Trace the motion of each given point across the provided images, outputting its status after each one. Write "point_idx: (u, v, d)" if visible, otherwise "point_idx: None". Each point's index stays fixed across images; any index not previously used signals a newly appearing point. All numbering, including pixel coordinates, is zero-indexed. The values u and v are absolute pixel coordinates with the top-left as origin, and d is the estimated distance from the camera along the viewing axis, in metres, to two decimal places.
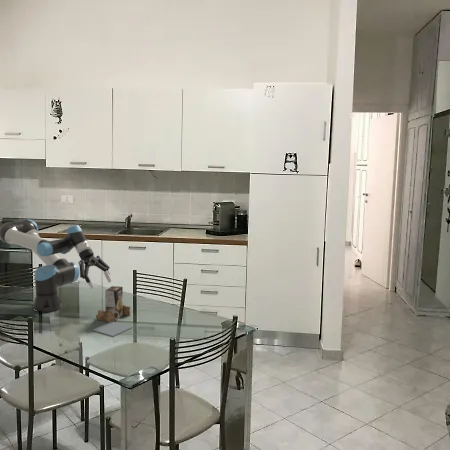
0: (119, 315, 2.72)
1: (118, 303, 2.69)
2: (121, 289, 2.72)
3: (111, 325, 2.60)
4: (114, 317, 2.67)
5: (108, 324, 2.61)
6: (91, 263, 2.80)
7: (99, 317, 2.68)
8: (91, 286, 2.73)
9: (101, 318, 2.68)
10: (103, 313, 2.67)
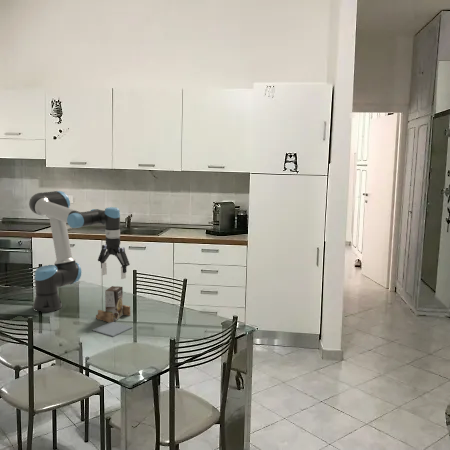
0: (119, 315, 2.72)
1: (118, 303, 2.69)
2: (121, 289, 2.72)
3: (111, 325, 2.60)
4: (114, 317, 2.67)
5: (108, 324, 2.61)
6: (110, 253, 2.66)
7: (99, 317, 2.68)
8: None
9: (101, 318, 2.68)
10: (103, 313, 2.67)
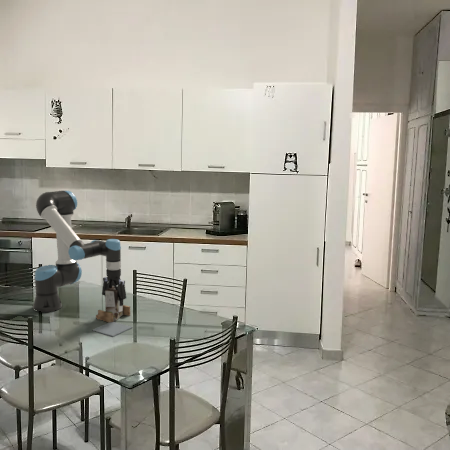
0: (119, 315, 2.72)
1: None
2: None
3: (111, 325, 2.60)
4: (114, 317, 2.68)
5: (108, 324, 2.61)
6: (111, 284, 2.69)
7: (99, 317, 2.68)
8: None
9: (101, 318, 2.68)
10: (103, 313, 2.67)
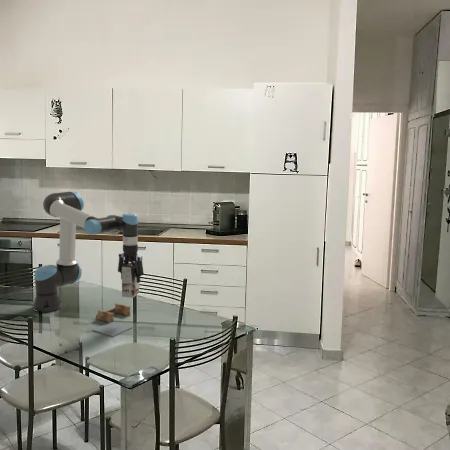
0: (136, 292, 2.63)
1: None
2: None
3: (111, 325, 2.60)
4: (131, 294, 2.59)
5: (108, 324, 2.61)
6: (127, 260, 2.60)
7: (99, 317, 2.68)
8: None
9: (101, 318, 2.68)
10: (103, 313, 2.67)
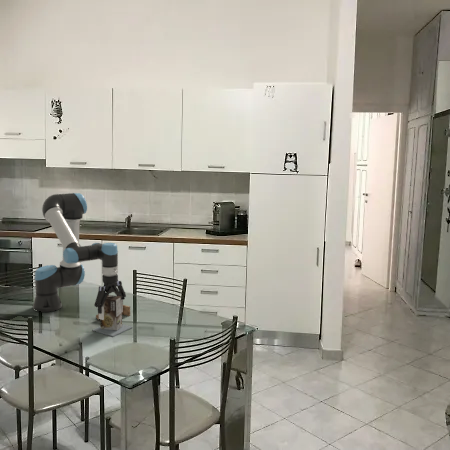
0: None
1: None
2: None
3: None
4: (121, 324, 2.57)
5: None
6: (111, 291, 2.52)
7: None
8: (100, 317, 2.49)
9: None
10: None
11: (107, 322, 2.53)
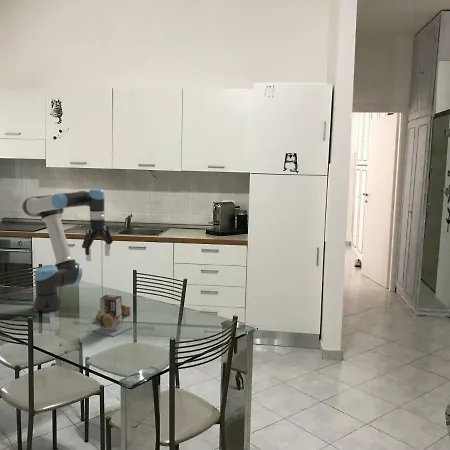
0: None
1: None
2: None
3: None
4: (121, 324, 2.57)
5: None
6: (98, 234, 2.66)
7: (99, 317, 2.68)
8: (88, 259, 2.64)
9: None
10: None
11: (107, 322, 2.53)
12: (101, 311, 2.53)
